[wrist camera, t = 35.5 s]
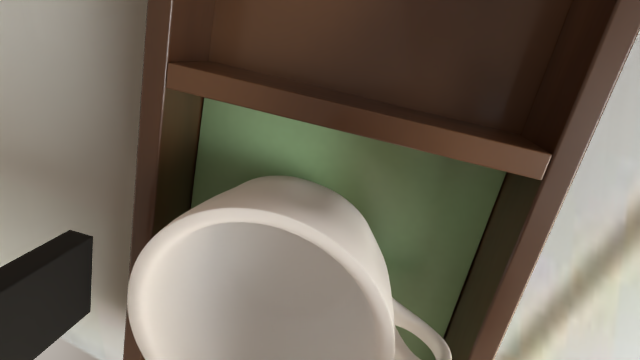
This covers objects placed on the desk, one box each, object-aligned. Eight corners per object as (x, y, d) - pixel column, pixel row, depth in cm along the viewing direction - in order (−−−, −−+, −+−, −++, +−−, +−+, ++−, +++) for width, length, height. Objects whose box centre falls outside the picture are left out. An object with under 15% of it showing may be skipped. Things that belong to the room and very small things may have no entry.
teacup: (188, 288, 18) (109, 379, 13) (230, 126, 15) (152, 160, 10) (401, 373, 17) (406, 504, 12) (481, 220, 15) (528, 304, 10)
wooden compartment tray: (717, -314, 11) (870, -488, 7) (430, 408, 19) (438, 487, 15) (243, -376, 12) (183, -549, 8) (166, 328, 20) (120, 384, 16)
